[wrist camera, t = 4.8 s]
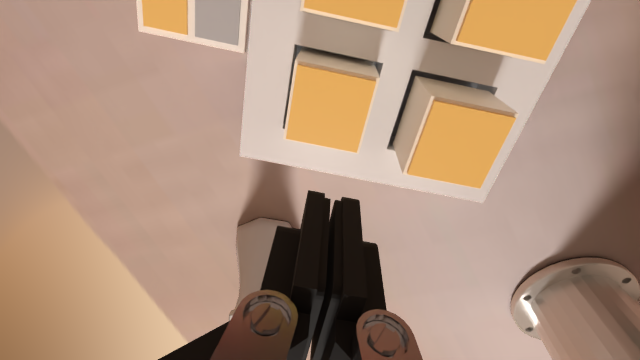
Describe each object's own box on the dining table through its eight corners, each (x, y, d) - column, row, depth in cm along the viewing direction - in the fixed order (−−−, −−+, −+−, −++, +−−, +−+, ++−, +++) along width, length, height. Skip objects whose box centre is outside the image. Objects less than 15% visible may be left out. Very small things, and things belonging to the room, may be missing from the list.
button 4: (373, 61, 25) (380, 79, 20) (355, 128, 27) (358, 156, 23) (302, 46, 24) (294, 61, 20) (291, 115, 27) (282, 140, 23)
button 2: (488, 90, 24) (521, 115, 19) (458, 156, 26) (481, 191, 22) (415, 75, 23) (432, 97, 19) (392, 143, 26) (403, 176, 22)
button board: (598, -94, 21) (648, -108, 18) (467, 178, 31) (483, 203, 28) (280, -173, 20) (268, -204, 17) (250, 135, 30) (239, 156, 27)
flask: (226, 219, 35) (190, 297, 26) (295, 212, 34) (281, 290, 26) (245, 270, 39) (218, 353, 30) (308, 265, 38) (298, 349, 29)
